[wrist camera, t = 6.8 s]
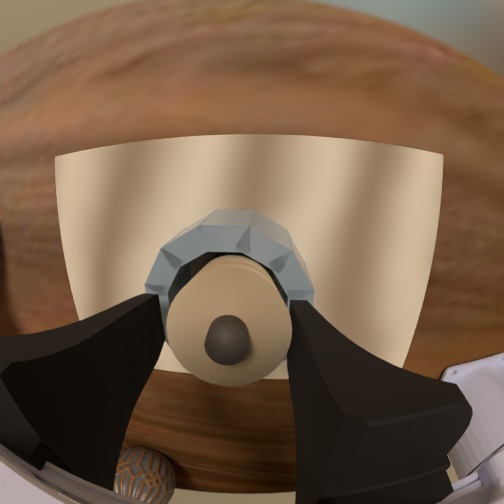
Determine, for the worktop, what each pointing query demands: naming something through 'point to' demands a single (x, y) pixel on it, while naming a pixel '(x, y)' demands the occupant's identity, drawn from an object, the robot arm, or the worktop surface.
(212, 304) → the wick peg
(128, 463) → the vase
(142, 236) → the board
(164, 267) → the grey faceted ring
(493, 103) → the worktop surface
